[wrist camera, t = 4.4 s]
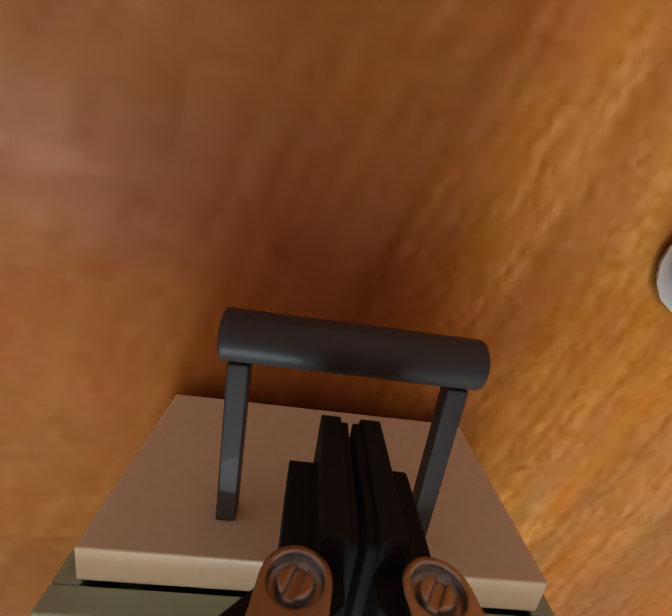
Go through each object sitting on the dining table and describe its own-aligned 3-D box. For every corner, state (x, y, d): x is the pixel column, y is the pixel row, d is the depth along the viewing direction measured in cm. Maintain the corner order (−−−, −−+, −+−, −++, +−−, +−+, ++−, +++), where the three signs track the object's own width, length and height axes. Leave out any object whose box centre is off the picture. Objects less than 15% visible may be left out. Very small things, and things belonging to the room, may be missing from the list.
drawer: (180, 248, 16) (56, 309, 8) (497, 293, 17) (636, 383, 9) (169, 616, 22) (93, 835, 15) (398, 630, 23) (435, 840, 16)
